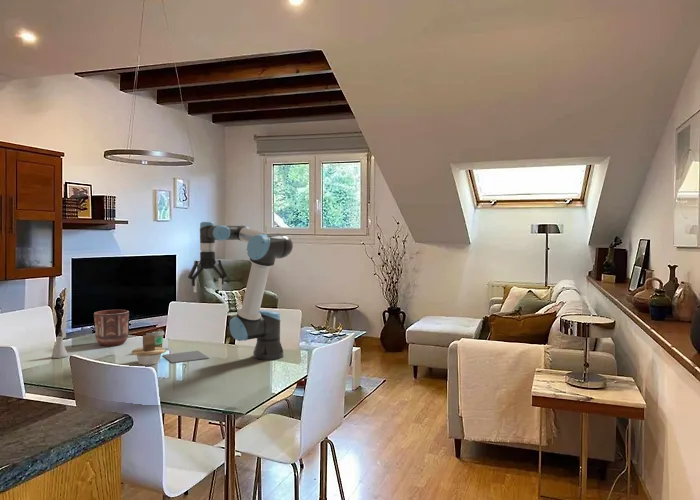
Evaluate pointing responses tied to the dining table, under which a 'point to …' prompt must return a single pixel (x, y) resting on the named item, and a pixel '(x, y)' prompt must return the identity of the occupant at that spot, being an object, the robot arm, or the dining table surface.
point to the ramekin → (149, 359)
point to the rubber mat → (185, 356)
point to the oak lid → (148, 347)
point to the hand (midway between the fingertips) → (207, 291)
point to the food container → (158, 337)
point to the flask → (59, 349)
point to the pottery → (111, 327)
